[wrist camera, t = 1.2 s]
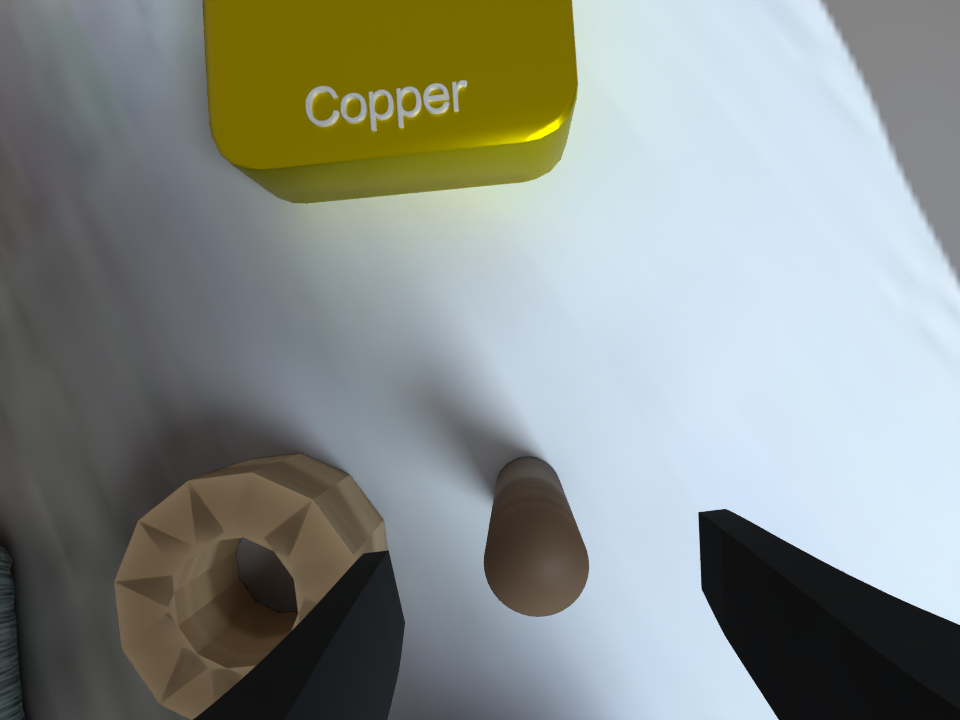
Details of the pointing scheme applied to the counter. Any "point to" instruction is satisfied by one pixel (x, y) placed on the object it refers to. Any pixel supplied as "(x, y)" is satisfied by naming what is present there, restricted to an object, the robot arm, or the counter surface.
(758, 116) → the counter surface
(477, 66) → the element tile
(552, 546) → the peg
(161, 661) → the bead
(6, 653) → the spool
